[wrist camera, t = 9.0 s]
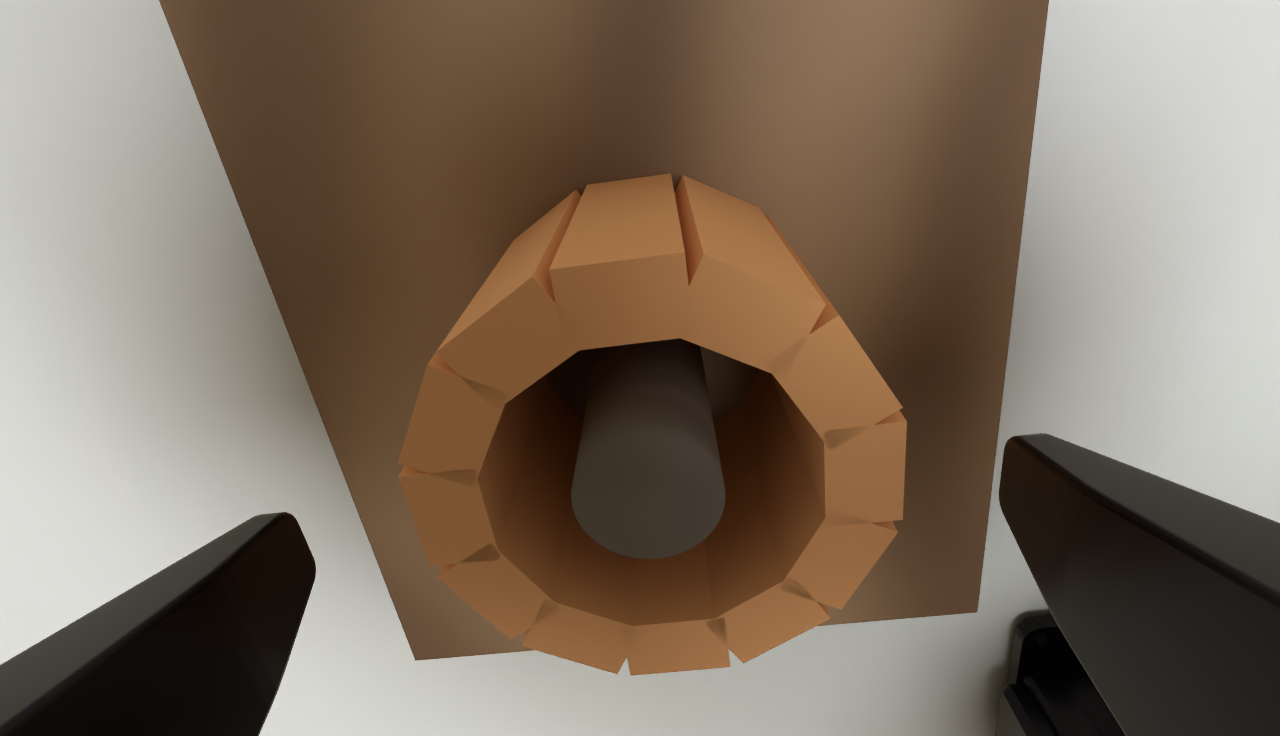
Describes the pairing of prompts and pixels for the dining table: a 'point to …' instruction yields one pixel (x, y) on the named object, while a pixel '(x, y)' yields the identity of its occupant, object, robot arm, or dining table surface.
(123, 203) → the dining table surface
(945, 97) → the brown piece
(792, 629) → the orange short hollow cylinder
